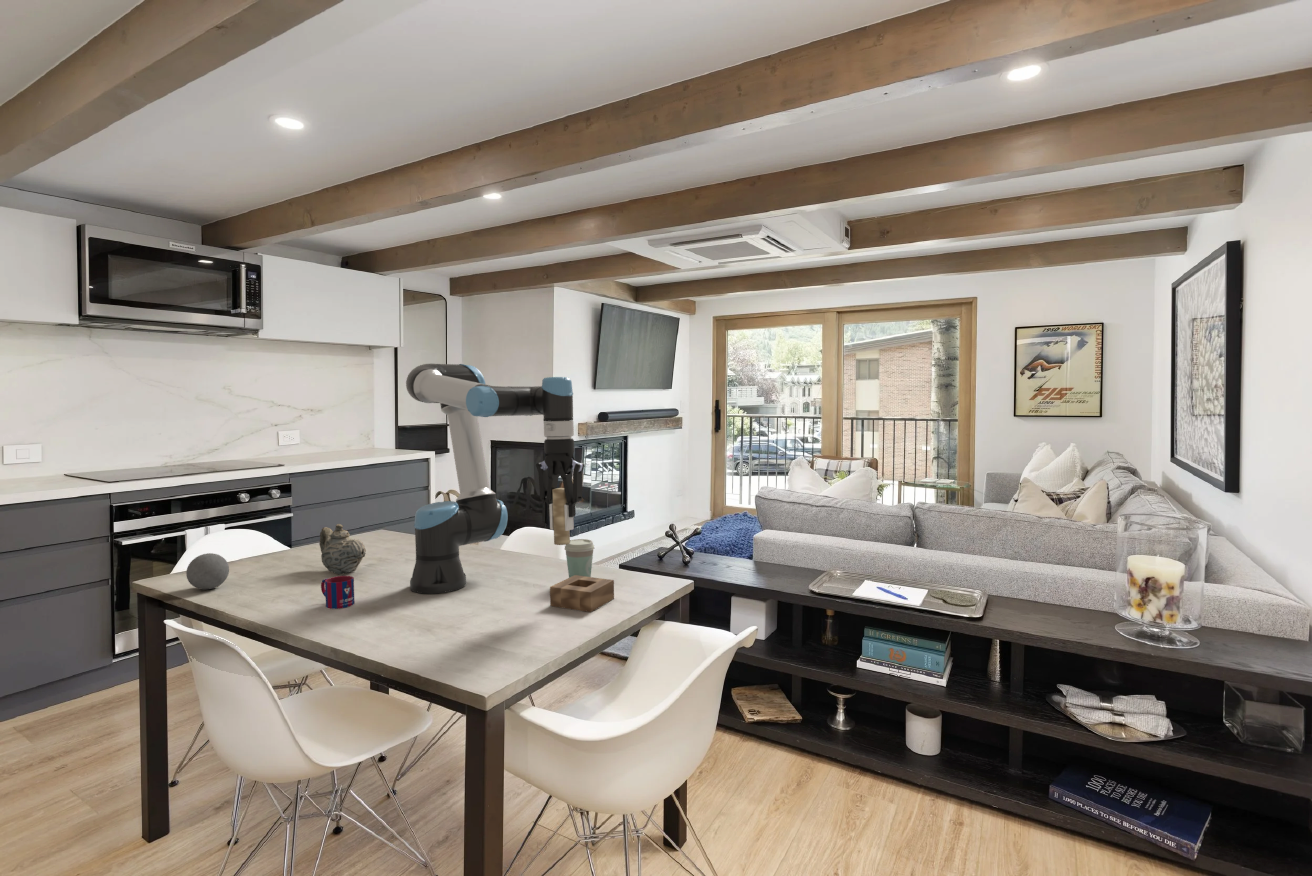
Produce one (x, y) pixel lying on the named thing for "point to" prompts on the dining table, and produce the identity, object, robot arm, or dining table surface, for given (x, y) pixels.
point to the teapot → (340, 550)
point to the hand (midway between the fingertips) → (561, 529)
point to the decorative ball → (207, 571)
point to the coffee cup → (579, 557)
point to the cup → (338, 591)
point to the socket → (582, 593)
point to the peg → (560, 517)
